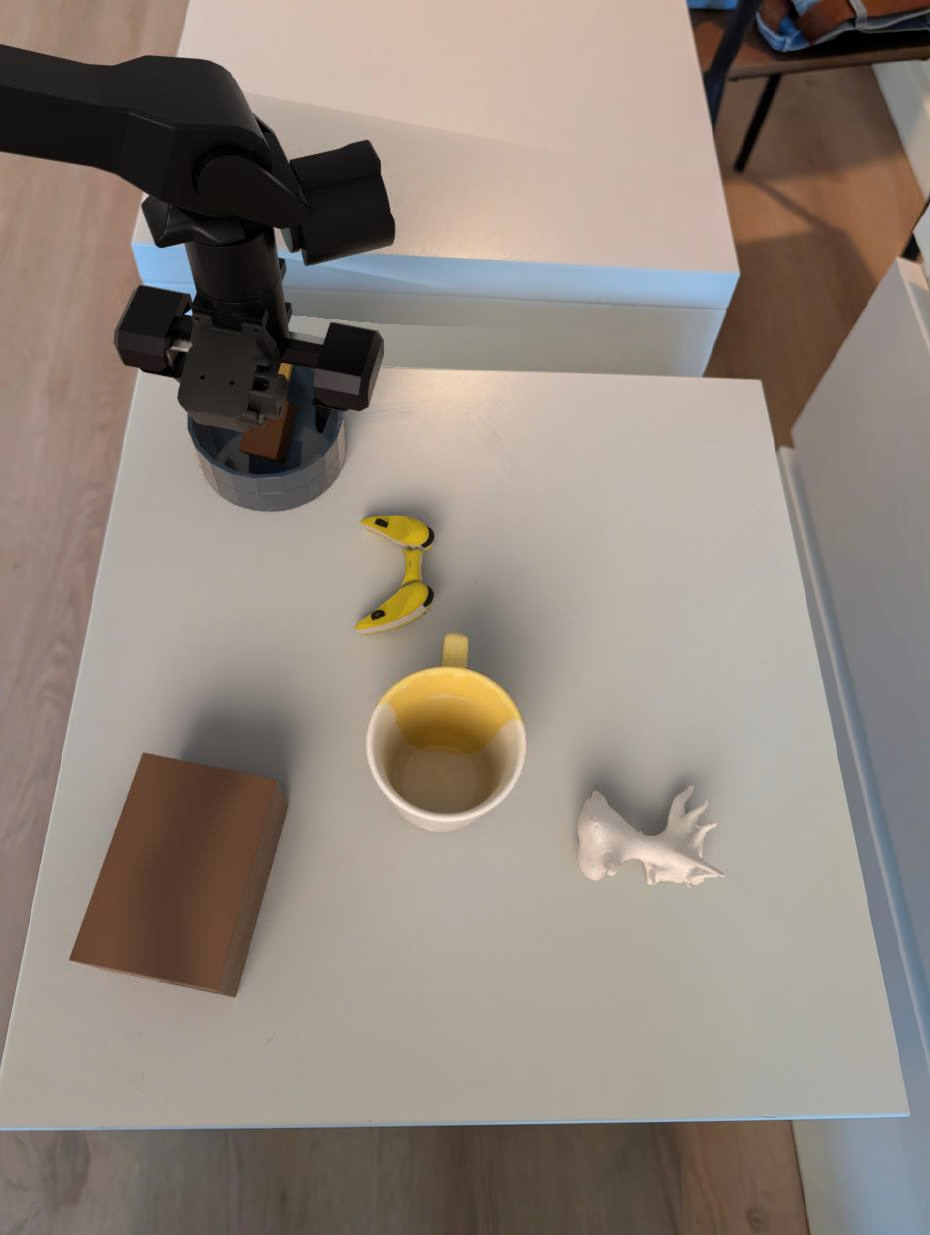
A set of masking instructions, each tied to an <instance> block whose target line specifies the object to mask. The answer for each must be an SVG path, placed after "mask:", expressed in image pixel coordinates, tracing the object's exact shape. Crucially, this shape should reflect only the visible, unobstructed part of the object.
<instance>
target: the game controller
mask: <svg viewBox="0 0 930 1235" xmlns="http://www.w3.org/2000/svg"><path fill="white" fill-rule="evenodd" d="M359 523H360V524H361V525H362V526H363V527H364V529H365V530H367V531H369V532H370V533H373V534H376V535H379V536H380V537H382V538H385V539H387V540H388V541H390V542H392V543H394V544H396V545H398V546H400V547H402V552H403V557H404V563H405V564H404V574H403V580H402V582H401V588H400V589H399V590H397V591H396V593H395V594H393V595H392V596H390V597H389V598H388V599H387V600H386V601H385V602H383V603H382V604H381V605H380V606H378V607H377V608H376V609H375V610H373V611H372V612H371V613H370V614H369V615H367V616H366V617H364V618H363V619H361V620H359V622H358V623H356V624H355V626H354V630H355V631H356V632H357V633H358V634H359V635H363V636H365V635H372V634H378V633H379V634H380V633H384V632H388V631H392V630H394V629H397V628H400V627H403V626H406V625H408V624H410V623H412V622H414V621H416V620H417V619H419V618H420V617H422V616H423V615H426V614H427V612H428V611H429V610H430V609H431V606H432V604H433V601H434V598H435V592H434V590H433V588H432V587H431V586H429V585H428V584H424V582H423V575H422V566H423V564H422V563H423V552H428V551H429V550H430V549H431V548H432V546H434V540H435V536H436V535H435V531H434V530H433V529H432V528H431V527H430V526H428V525H426V524H425V523H424V522H423V521H422V520H419V519H417V518H414V517H411V516H406V515H376V516H370V517H365V518H362V519H361V520H359Z"/></svg>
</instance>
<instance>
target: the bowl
mask: <svg viewBox="0 0 930 1235" xmlns="http://www.w3.org/2000/svg"><path fill="white" fill-rule="evenodd" d="M314 372H315V369H311V368H306V367H301V366H296V365H293V367H292V371H291V375H290V380H289V389H288V394H287V398H286V401H288V402H290V403H291V404H292V405H293V406H295V407H296V408H297V413H296V417H295V422H294V426H293V430H292V435H291V439H290V443H289V448H288V452H287V456H286V461H285V464H282V463H278V462H274V461H270V460H266V459H261V458H257V457H253V456H249V455H247V454H245V453H243V452H241V451H239V447H240V442H241V438H242V433H243V432H238V431H234V430H231V429H226V428H221V427H216V426H211V425H203V424H199V423H197V422H196V421H195V420H194V419H193V418H192V417H191V416H190V415H189V414H188V413H187V412H186V413H187V415H186V416H187V420H186V421H187V422H186V424H187V425H186V427H187V432H188V435H189V438H190V442H191V443H192V447H193V450H194V453H195V456H196V459H197V462H198V464H199V467H200V469H201V472H202V474H203V476H204V478H205V480H206V482H207V483H208V485H209V486H210V487H211V489H213V491H214V492H216V493H217V495H219V496H220V497H221V498H223V499H224V500H226V501H227V502H229V503H231V504H233V505H235V506H237V507H241V508H243V509H247V510H251V511H257V512H263V513H264V512H265V513H266V512H267V513H268V512H269V513H273V512H274V513H275V512H284V511H289V510H294V509H297V508H300V507H302V506H304V505H307V504H309V503H311V502H312V501H314V500H316V499H318V498H319V497H321V496H322V495H323V494H324V493H325V492H327V491H328V490H329V488H331V486H332V485H333V484H334V483H335V481H336V480H337V479H338V477H339V475H340V474H341V472H342V469H343V466H344V464H345V458H346V450H347V449H346V437H345V436H346V435H345V424H344V412H342V411H337V410H333V411H332V412H331V414H330V416H329V418H328V421H327V423H326V426H325V428H324V430H323V433H318V432H317V429H316V426H315V407H316V406H312V401H313V398H314V393H313V380H314Z"/></svg>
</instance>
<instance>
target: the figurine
mask: <svg viewBox="0 0 930 1235" xmlns="http://www.w3.org/2000/svg"><path fill="white" fill-rule="evenodd" d="M693 792H694V786H693V784H690V785H689V786H687V787H686V789H685V790H684V791H683V792H680V793H678V794H677V795H676V796H675V797H674V798H673V801H672V803H671V806H670V810H669V813H668V818H667V825H666V827H665V829H664V830H663V831H662V832H660V833H659V834H656V835H647V834H644V833H643V831H642V830H639V831H637V830H635V828H633V827H632V826H631V825H630V824H629V823H628V822H626V820H625V819H624V818H623V817H622V816H621V815H620V814H619V813H618V812H617V811H615V810H614V809H613V808H612V807H610V805H609V803H608V800H607V799H606V797H605V796H604V795H603V794H601V793H600V792H599V791H597V790H593V791H592V792H591V797H589V798H587V799H586V800H585V803H584V804H583V806H582V809H581V810H580V813H579V816H578V820H577V835H578V839H579V841H578V847H577V848H578V849H577V862H578V865H579V866H578V867H579V869H580V871H581V872H582V874H583V875H584V876H585V877H586V878H588V879H589V880H592V881H600V880H602V878H604V876H606V874H607V875H608V876H610V877H615V875H616V874H617V872H619V870H620V869H621V865H622V863H624V862H626V861H628V860H634V859H635V860H638V861H641V862H642V863H643V865H644V866H643V867H644V869H645V870H644V871H645V879H646V883H647V885H649V886H655V885H656V884H657V883H659V882H660V881H663V882H672V883H676V884H681V883H685V885H686V886H687V887H688V888H689V889H693V888H692V886H691V885H693V886H698V885H699V884H701V883H703V882H705V879H707V878H718V877H720V878H725V877H727V876H726V874H725V873H724V872H723V871H722V870H720V869H718V868H717V867H716V866H714V865H713V864H710V863H709V862H708V861H706V860H704V857H703V854H704V840H705V837H706V834H707V833H708V831H710V830H711V829H713V828H716V827H717V825H718V823H717V822H713V821H711V822H707V823H704V824H702V825H699V824H697V823H698V822H697V821H698V818H699V817H700V816H701V815H702V814H703V813H704V812H705V811H706V809H707V808H708V806H709V800H708V798H707V799H705V801H704V802H703V803H702V804H701V805H699V806H698V807H696V808H693V809H691V810H689V811H688V812H685V810H686V809H685V804H686V802H687V800H689V798H691V797H692V794H693ZM704 871H707V872H704ZM690 884H691V885H690Z"/></svg>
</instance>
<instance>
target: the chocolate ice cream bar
mask: <svg viewBox="0 0 930 1235" xmlns="http://www.w3.org/2000/svg"><path fill="white" fill-rule="evenodd" d="M292 367H293V365H291V364H286V363H281V366H280V369H279V372H278V373H279V374H284V375H285V376H286V378H287V380H288V382H289V380H290V375H291V371H292ZM296 413H297V408H296V407H295V406H293V405H292V404H291V403H290V402H288V401H286V402H285V407H284V411H283V415H282V417H281V419H280V420H274V419H269V420H267V421H266V424H265V427H264V428H261V427H256V426H255V428H254V429H252V430H251V431H248V432H243V433H242V438H241V442H240V447H239V451H241V452H243V453H245V454H247V455H249V456H253V457H257V458H261V459H266V460H270V461H274V462H278V463H282V464H285V461H286V456H287V452H288V448H289V443H290V439H291V435H292V430H293V426H294V422H295V417H296Z"/></svg>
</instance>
